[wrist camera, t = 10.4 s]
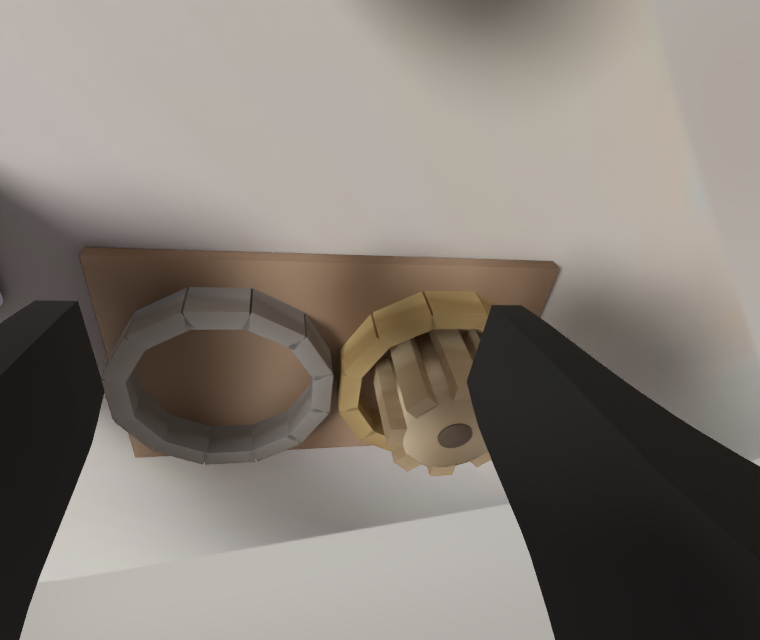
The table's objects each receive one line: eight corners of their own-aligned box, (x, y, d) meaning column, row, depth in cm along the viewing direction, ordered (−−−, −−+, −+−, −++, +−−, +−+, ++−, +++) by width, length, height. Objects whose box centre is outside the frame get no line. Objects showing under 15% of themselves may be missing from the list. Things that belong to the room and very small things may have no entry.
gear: (366, 408, 24) (380, 481, 20) (380, 319, 20) (399, 391, 17) (471, 404, 25) (499, 473, 21) (500, 320, 21) (539, 387, 18)
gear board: (138, 447, 24) (127, 485, 22) (84, 246, 17) (63, 280, 15) (485, 430, 27) (498, 462, 26) (552, 261, 21) (576, 289, 19)
